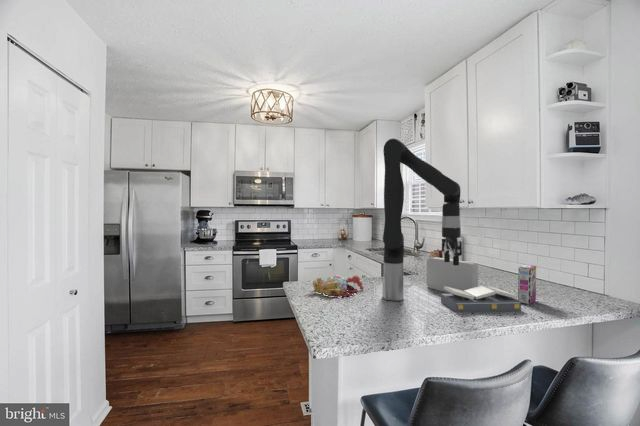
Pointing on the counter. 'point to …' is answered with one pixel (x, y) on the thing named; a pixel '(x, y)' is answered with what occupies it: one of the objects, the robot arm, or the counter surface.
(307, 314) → the counter surface
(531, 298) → the candy bar box
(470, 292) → the rocker
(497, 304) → the tray
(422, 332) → the counter surface
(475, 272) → the upright grey rectangular panel
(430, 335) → the counter surface
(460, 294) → the rocker
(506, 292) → the rocker
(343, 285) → the colourful mixed pile
